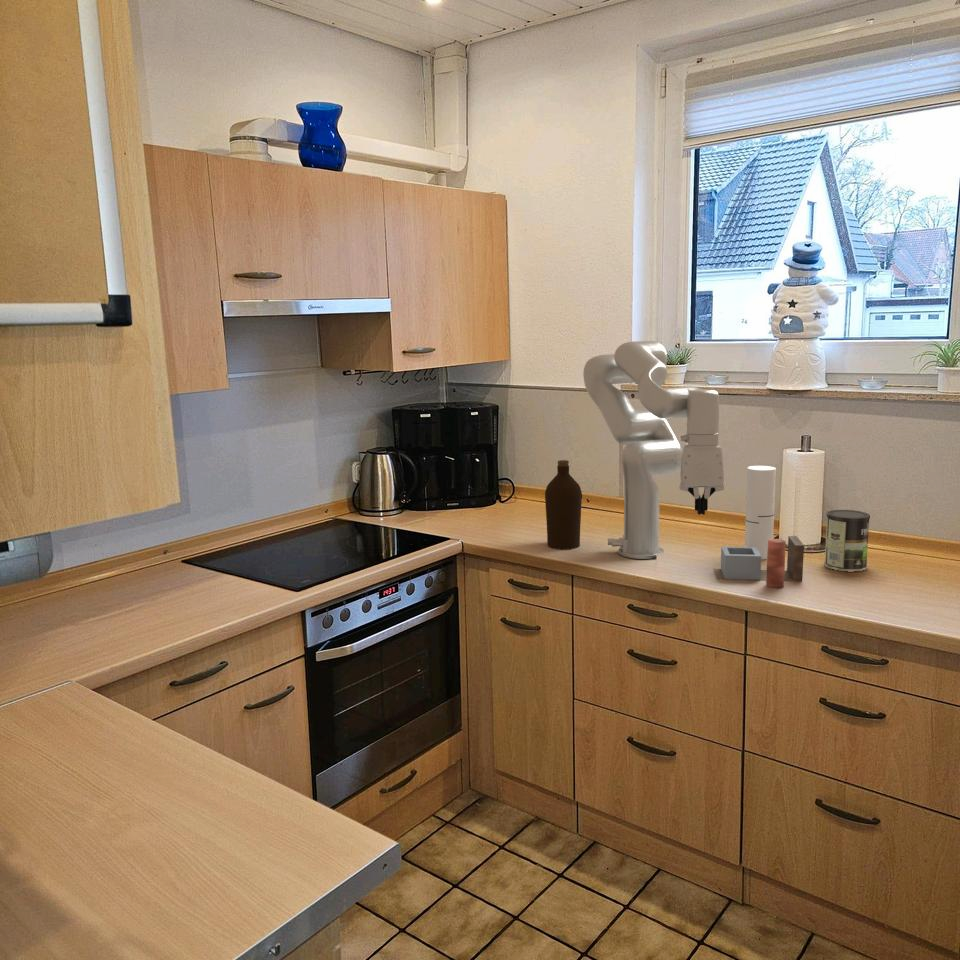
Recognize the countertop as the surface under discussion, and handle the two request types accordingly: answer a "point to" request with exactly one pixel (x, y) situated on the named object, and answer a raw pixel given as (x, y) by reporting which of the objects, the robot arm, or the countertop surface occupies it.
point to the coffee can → (847, 540)
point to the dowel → (775, 563)
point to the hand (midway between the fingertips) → (701, 513)
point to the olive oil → (563, 509)
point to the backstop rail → (793, 562)
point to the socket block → (740, 563)
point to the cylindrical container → (760, 507)
